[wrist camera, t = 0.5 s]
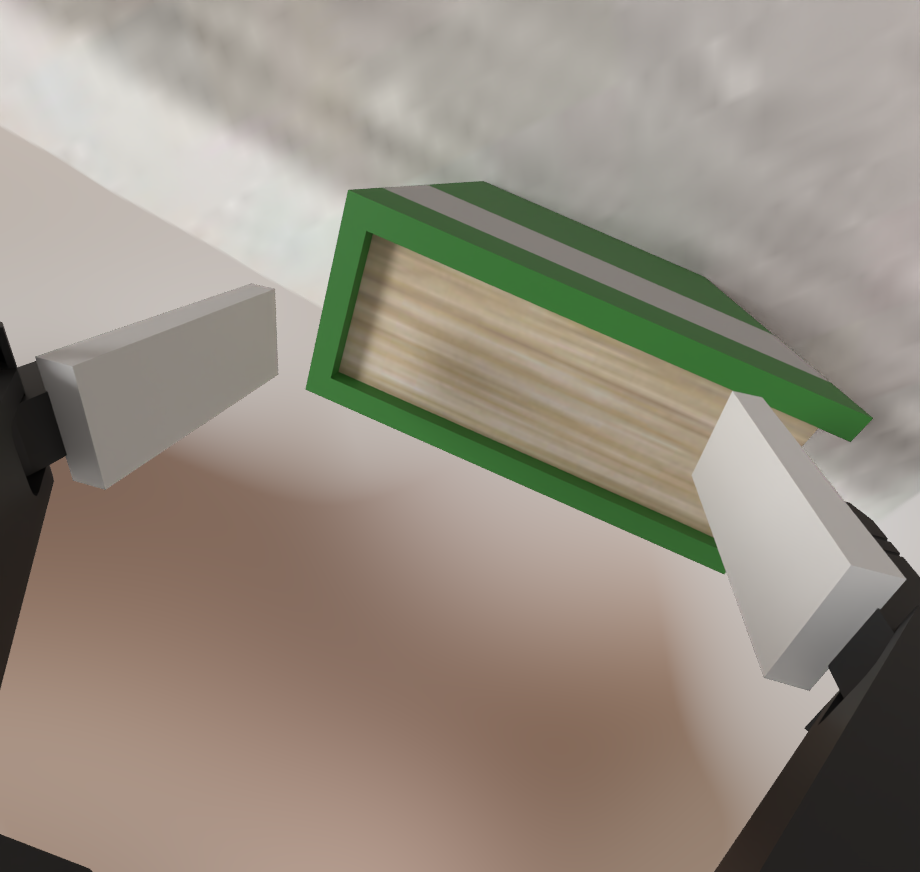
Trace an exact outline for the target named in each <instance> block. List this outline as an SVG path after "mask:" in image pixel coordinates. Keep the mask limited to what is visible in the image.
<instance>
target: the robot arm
mask: <svg viewBox="0 0 920 872" xmlns="http://www.w3.org/2000/svg"><path fill="white" fill-rule="evenodd" d="M276 375H278V359H277V331H276V304H275V289H273V288H269V287H264V286H260V285H255V284H249V285H245V286H243V287H240V288H237V289H234V290H231V291H228V292H225V293H222V294H219V295H216V296H213V297H210V298H207V299H204V300H201V301H198V302H195V303H192V304H189V305H187V306H184V307H180V308H177V309H175V310H172V311H169V312H166V313H163V314H160V315H157V316H154V317H151V318H148V319H145V320H142V321H139V322H136V323H133V324H130V325H127V326H124V327H122V328H118V329H115V330H113V331H110V332H107V333H104V334H101V335H98V336H95V337H92V338H89V339H86V340H83V341H80V342H77V343H74V344H71V345H69V346H65V347H62V348H60V349H56V350H54V351H51V352H48V353H45V354H42V355H39V356H36V361H35V362H32V363H29V364H26V365H24V366H21V367H18V368H17V365H16V362H15V359H14V356H13V353H12V350H11V347H10V344H9V341H8V338H7V335H6V332H5V329H4V326H3V323H2V322H0V688H1V684H2V680H3V676H4V672H5V669H6V665H7V661H8V657H9V653H10V649H11V645H12V641H13V637H14V634H15V629H16V626H17V622H18V618H19V614H20V610H21V606H22V603H23V598H24V595H25V591H26V587H27V583H28V579H29V575H30V572H31V567H32V564H33V559H34V556H35V552H36V548H37V544H38V540H39V536H40V533H41V528H42V525H43V521H44V517H45V513H46V509H47V505H48V502H49V498H50V494H51V490H52V486H53V482H54V480H53V475H52V472H51V469H50V464H52V463H54V462H56V461H57V460H59V459H61V458H63V457H64V456H66V459H67V462H68V465H69V468H70V472H71V475H72V479H73V481H77V482H81V483H84V484H87V485H91V486H94V487H98V488H101V489H105V490H106V489H107V488H109V487H110V486H112V485H113V484H115V483H116V482H117V481H119V480H121V479H122V478H124V477H125V476H127V475H128V474H130V473H131V472H133V471H134V470H135V469H137V468H139V467H140V466H141V465H143V464H145V463H146V462H148V461H149V460H151V459H152V458H154V457H155V456H157V455H158V454H160V453H161V452H163V451H164V450H166V449H167V448H169V447H170V446H172V445H173V444H175V443H176V442H178V441H179V440H180V439H182V438H184V437H185V436H187V435H188V434H190V433H191V432H193V431H194V430H195V429H197V428H199V427H200V426H202V425H203V424H205V423H206V422H207V421H209V420H211V419H212V418H214V417H215V416H217V415H218V414H219V413H221V412H223V411H224V410H225V409H227V408H228V407H230V406H232V405H233V404H235V403H236V402H238V401H239V400H241V399H242V398H244V397H245V396H247V395H248V394H250V393H251V392H253V391H254V390H256V389H257V388H258V387H260V386H262V385H263V384H265V383H266V382H267V381H269V380H270V379H272V378H274V377H275V376H276ZM692 478H693V481H694V484H695V486H696V489H697V492H698V495H699V498H700V500H701V503H702V506H703V509H704V512H705V514H706V517H707V520H708V523H709V526H710V528H711V531H712V534H713V537H714V540H715V542H716V545H717V548H718V551H719V554H720V556H721V559H722V562H723V565H724V568H725V570H726V573H727V576H728V578H729V582H730V584H731V587H732V590H733V592H734V596H735V598H736V601H737V604H738V606H739V609H740V612H741V615H742V618H743V621H744V623H745V626H746V629H747V632H748V635H749V637H750V640H751V643H752V646H753V648H754V651H755V654H756V657H757V660H758V663H759V665H760V668H761V671H762V674H763V677H764V678H767V679H770V680H774V681H778V682H781V683H784V684H788V685H791V686H795V687H798V688H802V689H805V690H809V691H810V690H811V688H812V687H813V686H814V685H815V684H816V683H817V681H818V680H819V679H820V678H821V677H822V676H823V675H824V673H825V672H826V671H827V670H828V669H830V671H831V674H832V676H833V678H834V679H835V681H836V683H837V686H838V687H839V691H838V692H837V693H836V694H835V696H834V697H833V698H832V699H831V700H830V701H829V702H828V703H827V704H826V705H825V706H824V707H823V709H822V710H821V711H820V712H819V713H818V714H817V715H816V716H815V717H814V718H813V720H811V722H810V723H809V724H808V725H807V726H806V727H805V729H806V730H807V731H808V733H807V734H806V736H805V737H804V739H803V740H802V742H801V743H800V745H799V746H798V748H797V749H796V751H795V752H794V754H793V755H792V757H791V758H790V760H789V761H788V763H787V764H786V766H785V767H784V769H783V770H782V772H781V773H780V775H779V776H778V778H777V779H776V781H775V782H774V784H773V785H772V787H771V788H770V790H769V791H768V793H767V794H766V796H765V797H764V798H763V800H762V802H761V803H760V805H759V806H758V807H757V809H756V810H755V812H754V813H753V815H752V816H751V818H750V819H749V821H748V822H747V824H746V826H745V827H744V828H743V830H742V831H741V833H740V834H739V836H738V837H737V839H736V840H735V842H734V843H733V845H732V846H731V848H730V849H729V851H728V852H727V854H726V855H725V857H724V858H723V860H722V861H721V863H720V864H719V866H718V867H717V868H716V870H715V871H714V872H920V577H919V576H918V574H917V573H916V572H915V571H914V570H913V569H912V567H911V566H910V565H909V564H908V563H907V561H906V560H905V559H904V558H903V557H900V556H899V555H900V553H899V552H898V551H897V549H896V548H895V547H894V546H893V545H892V543H891V542H888V541H887V537H886V536H885V535H884V533H883V532H882V531H881V530H880V529H879V527H878V526H877V525H876V524H875V523H874V521H873V520H871V519H870V518H869V517H867V516H866V515H865V514H864V513H862V512H861V511H860V510H858V509H857V508H856V507H854V506H853V505H852V504H851V503H848V502H845V501H844V500H843V499H842V497H841V496H840V495H839V493H838V492H837V491H836V490H835V488H834V487H833V486H832V485H831V483H830V482H829V481H828V480H827V478H826V477H825V476H824V475H823V473H822V472H821V471H820V470H819V468H818V467H817V466H816V465H815V463H814V462H813V461H812V459H811V458H810V457H809V456H808V454H807V453H806V452H805V451H804V449H803V448H802V447H801V446H800V444H799V443H798V442H797V441H796V439H795V438H794V437H793V436H792V434H791V433H790V432H789V430H788V429H787V428H786V427H785V425H784V424H783V423H782V422H781V420H780V419H779V418H778V417H777V415H776V414H775V413H774V412H773V410H772V409H771V408H770V407H769V405H768V404H767V403H766V401H765V400H764V399H763V398H762V397H758V396H753V395H749V394H744V393H740V392H735V391H732V393H731V395H730V397H729V399H728V401H727V403H726V405H725V407H724V409H723V411H722V413H721V415H720V417H719V420H718V422H717V424H716V426H715V428H714V430H713V432H712V434H711V436H710V438H709V440H708V442H707V444H706V446H705V449H704V451H703V453H702V455H701V457H700V459H699V461H698V463H697V465H696V467H695V469H694V471H693V473H692ZM0 872H92V871H91V870H90V869H89V868H86V867H84V866H81V865H79V864H76V863H73V862H71V861H68V860H66V859H63V858H60V857H58V856H55V855H53V854H50V853H48V852H45V851H42V850H40V849H37V848H35V847H32V846H30V845H27V844H24V843H22V842H19V841H16V840H14V839H11V838H9V837H6V836H4V835H1V834H0Z"/></svg>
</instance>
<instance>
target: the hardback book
mask: <svg viewBox="0 0 920 872" xmlns="http://www.w3.org/2000/svg"><path fill="white" fill-rule="evenodd" d="M306 390H308V391H310V392H312V393H315V394H317V395H319V396H322V397H324V398H326V399H328V400H331V401H333V402H335V403H337V404H340V405H342V406H344V407H347V408H349V409H351V410H354V411H356V412H358V413H360V414H362V415H365V416H367V417H369V418H371V419H374V420H376V421H378V422H380V423H383V424H385V425H387V426H390V427H392V428H394V429H397V430H399V431H401V432H403V433H405V434H408V435H410V436H412V437H414V438H417V439H419V440H421V441H424V442H426V443H428V444H430V445H433V446H435V447H437V448H439V449H442V450H444V451H446V452H448V453H451V454H453V455H455V456H457V457H460V458H462V459H464V460H467V461H469V462H471V463H473V464H476V465H478V466H480V467H482V468H485V469H487V470H489V471H491V472H494V473H496V474H498V475H500V476H503V477H505V478H507V479H510V480H512V481H514V482H516V483H519V484H521V485H524V486H525V487H528V488H530V489H532V490H534V491H537V492H539V493H541V494H543V495H546V496H548V497H550V498H553V499H555V500H557V501H559V502H562V503H564V504H566V505H569V506H571V507H573V508H575V509H577V510H580V511H582V512H584V513H587V514H589V515H591V516H593V517H596V518H598V519H600V520H602V521H605V522H607V523H609V524H611V525H614V526H616V527H618V528H620V529H623V530H625V531H627V532H629V533H632V534H634V535H637V536H639V537H641V538H643V539H645V540H648V541H650V542H652V543H654V544H657V545H659V546H661V547H663V548H666V549H668V550H670V551H673V552H675V553H677V554H679V555H682V556H684V557H686V558H688V559H691V560H693V561H695V562H697V563H700V564H702V565H704V566H706V567H709V568H711V569H713V570H716V571H718V572H720V573H722V574H725V573H726V570H725V568H724V565H723V562H722V559H721V556H720V554H719V551H718V548H717V545H716V542H715V540H714V537H713V534H712V531H711V528H710V526H709V523H708V520H707V517H706V514H705V512H704V509H703V506H702V503H701V500H700V498H699V495H698V492H697V489H696V486H695V484H694V481H693V478H692V473H693V471H694V469H695V467H696V465H697V463H698V461H699V459H700V457H701V455H702V453H703V451H704V449H705V446H706V444H707V442H708V440H709V438H710V436H711V434H712V432H713V430H714V428H715V426H716V424H717V422H718V420H719V417H720V415H721V413H722V411H723V409H724V407H725V405H726V403H727V401H728V399H729V397H730V395H731V393H732V391H735V392H740V393H744V394H749V395H753V396H758V397H762V398H763V399H764V400H765V401H766V403H767V404H768V405H769V407H770V408H771V409H772V410H773V412H774V413H775V414H776V415H777V417H778V418H779V419H780V420H781V422H782V423H783V424H784V425H785V427H786V428H787V429H788V430H789V432H790V433H791V434H792V436H793V437H794V438H795V439H796V441H797V442H798V443H799V444H800V446H801V447H802V446H803V445H804V444H805V442H806V441H807V440H808V439H809V438H810V437H811V436H812V435H813V434H814V432H815V431H816V430H817V429H818V428H820V429H822V430H824V431H826V432H829V433H831V434H833V435H836V436H838V437H840V438H843V439H845V440H847V441H849V442H851V441H852V440H853V439H854V438H855V437H856V436H857V435H858V434H859V433H860V432H861V430H862V429H863V428H864V427H865V426H866V425H867V424H868V423H869V422H870V421H871V420H872V419H873V418H872V417H871V416H870V415H869V414H867V413H866V412H865V411H864V410H863V409H861V408H860V407H859V406H858V405H857V404H855V403H854V402H853V401H852V400H851V399H849V398H848V397H847V396H846V395H845V394H844V393H842V392H841V391H840V390H839V389H838V388H836V387H835V386H834V385H833V384H832V383H830V382H829V381H828V380H827V379H826V378H824V377H823V376H822V375H821V374H820V373H818V372H817V371H816V370H815V369H814V368H812V367H811V366H810V365H809V364H808V363H806V362H805V361H804V360H803V359H802V358H801V357H799V356H798V355H797V354H796V353H795V352H793V351H792V350H791V349H790V348H789V347H787V346H786V345H785V344H784V343H783V342H781V341H780V340H779V339H778V338H777V337H775V336H774V335H773V334H772V333H771V332H769V331H768V330H767V329H766V328H765V327H763V326H762V325H761V324H760V323H759V322H757V321H756V320H755V319H754V318H753V317H752V316H750V315H749V314H748V313H747V312H746V311H744V310H743V309H742V308H741V307H740V306H738V305H737V304H736V303H735V302H734V301H732V300H731V299H730V298H729V297H728V296H726V295H725V294H724V293H723V292H722V291H720V290H719V289H718V288H717V287H716V286H714V285H713V284H712V283H711V282H710V281H709V280H707V279H706V278H705V277H703V276H701V275H699V274H696V273H694V272H692V271H689V270H687V269H685V268H682V267H680V266H678V265H676V264H673V263H671V262H669V261H666V260H664V259H662V258H659V257H657V256H655V255H652V254H650V253H648V252H646V251H643V250H641V249H639V248H636V247H634V246H632V245H629V244H627V243H625V242H622V241H620V240H618V239H615V238H613V237H611V236H609V235H606V234H604V233H602V232H599V231H597V230H595V229H592V228H590V227H588V226H585V225H583V224H581V223H579V222H576V221H574V220H572V219H569V218H567V217H565V216H562V215H560V214H558V213H555V212H553V211H551V210H549V209H546V208H544V207H542V206H539V205H537V204H535V203H532V202H530V201H528V200H525V199H523V198H521V197H518V196H516V195H514V194H512V193H509V192H507V191H505V190H502V189H500V188H498V187H495V186H493V185H491V184H488V183H486V182H484V181H479V182H463V183H448V184H432V185H417V186H401V187H386V188H370V189H355V190H348V193H347V198H346V202H345V207H344V212H343V217H342V221H341V226H340V231H339V235H338V240H337V245H336V249H335V254H334V259H333V263H332V268H331V273H330V277H329V282H328V287H327V291H326V296H325V301H324V305H323V310H322V315H321V319H320V324H319V329H318V334H317V338H316V343H315V348H314V353H313V357H312V362H311V366H310V371H309V376H308V381H307V385H306Z"/></svg>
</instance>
